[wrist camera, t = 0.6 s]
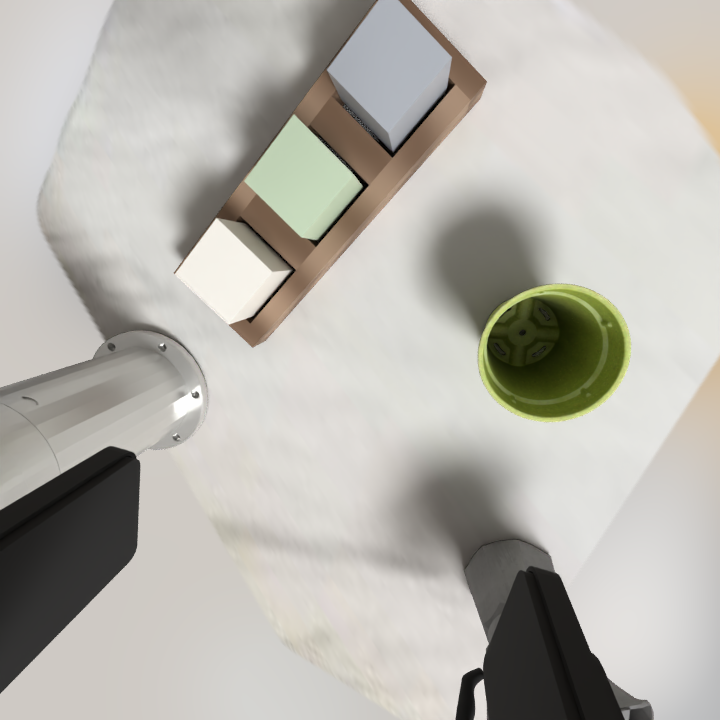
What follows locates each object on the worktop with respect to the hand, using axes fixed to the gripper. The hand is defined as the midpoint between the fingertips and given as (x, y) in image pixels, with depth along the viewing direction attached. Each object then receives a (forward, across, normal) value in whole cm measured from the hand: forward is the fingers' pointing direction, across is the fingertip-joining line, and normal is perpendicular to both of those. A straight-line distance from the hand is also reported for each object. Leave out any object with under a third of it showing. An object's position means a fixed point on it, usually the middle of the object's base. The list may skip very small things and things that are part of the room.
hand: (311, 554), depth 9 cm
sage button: (+25, +9, -10) cm, 29 cm away
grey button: (+26, +4, -18) cm, 32 cm away
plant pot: (+28, -10, -2) cm, 30 cm away
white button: (+25, +14, -3) cm, 29 cm away
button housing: (+28, +9, -10) cm, 31 cm away
